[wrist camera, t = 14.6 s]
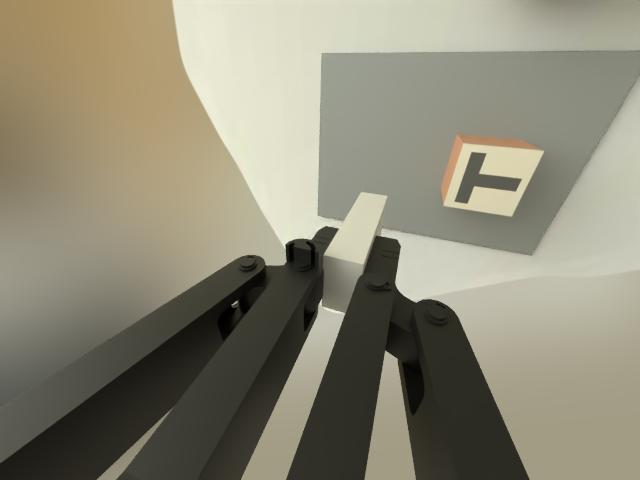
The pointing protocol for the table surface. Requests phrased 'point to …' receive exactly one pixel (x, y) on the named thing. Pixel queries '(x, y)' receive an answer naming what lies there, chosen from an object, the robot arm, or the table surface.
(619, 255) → the table surface
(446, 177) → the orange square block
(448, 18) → the table surface
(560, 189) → the mat
